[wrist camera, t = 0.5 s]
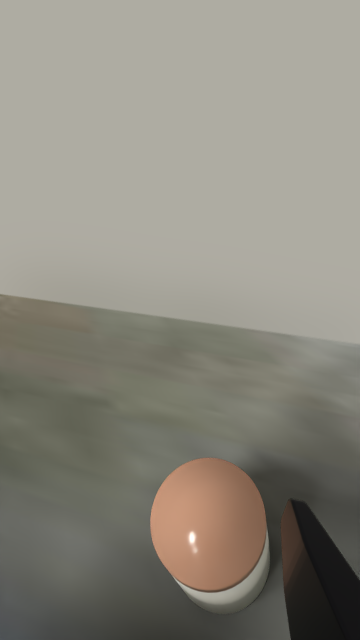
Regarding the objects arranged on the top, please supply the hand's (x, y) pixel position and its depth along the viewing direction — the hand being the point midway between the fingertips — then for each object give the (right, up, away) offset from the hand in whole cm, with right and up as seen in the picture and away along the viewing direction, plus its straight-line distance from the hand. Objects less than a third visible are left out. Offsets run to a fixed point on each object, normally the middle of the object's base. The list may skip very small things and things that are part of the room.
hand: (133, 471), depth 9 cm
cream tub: (+4, -10, +10) cm, 14 cm away
